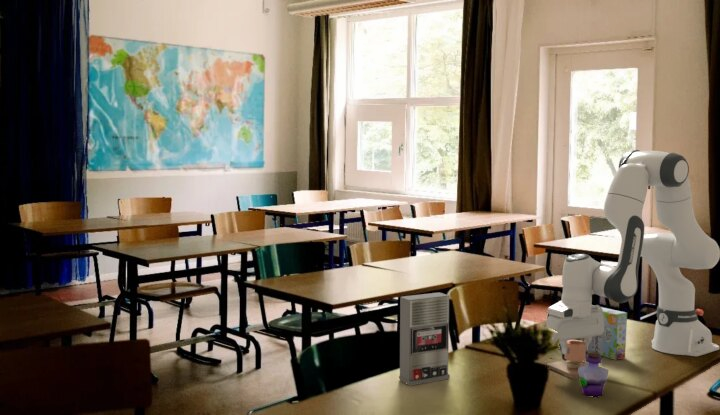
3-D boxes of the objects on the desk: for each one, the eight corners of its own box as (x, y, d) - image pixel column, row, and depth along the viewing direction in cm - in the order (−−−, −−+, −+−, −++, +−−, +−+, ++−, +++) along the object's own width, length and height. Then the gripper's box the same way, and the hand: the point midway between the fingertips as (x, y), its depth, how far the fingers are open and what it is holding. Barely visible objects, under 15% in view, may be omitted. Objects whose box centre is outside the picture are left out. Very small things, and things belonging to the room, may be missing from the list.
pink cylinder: (575, 354, 237) (576, 338, 237) (589, 359, 232) (589, 343, 232) (560, 357, 235) (560, 341, 234) (574, 362, 229) (574, 346, 229)
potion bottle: (570, 394, 212) (572, 352, 211) (584, 386, 219) (586, 345, 217) (600, 401, 206) (601, 358, 205) (613, 393, 213) (615, 351, 212)
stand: (576, 362, 242) (576, 340, 241) (603, 373, 231) (604, 349, 230) (545, 367, 237) (546, 344, 236) (572, 378, 226) (573, 354, 225)
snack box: (626, 358, 247) (628, 312, 246) (615, 360, 244) (617, 314, 243) (574, 343, 265) (575, 300, 263) (563, 345, 261) (564, 302, 260)
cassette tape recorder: (409, 386, 219) (410, 300, 216) (399, 380, 224) (399, 296, 222) (450, 379, 225) (451, 296, 223) (438, 373, 230) (439, 292, 228)
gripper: (595, 302, 239) (593, 345, 241) (543, 308, 230) (542, 353, 232) (609, 306, 234) (608, 350, 235) (557, 313, 225) (555, 359, 226)
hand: (574, 352), depth 233 cm, fingers closed on pink cylinder, 6 cm apart
